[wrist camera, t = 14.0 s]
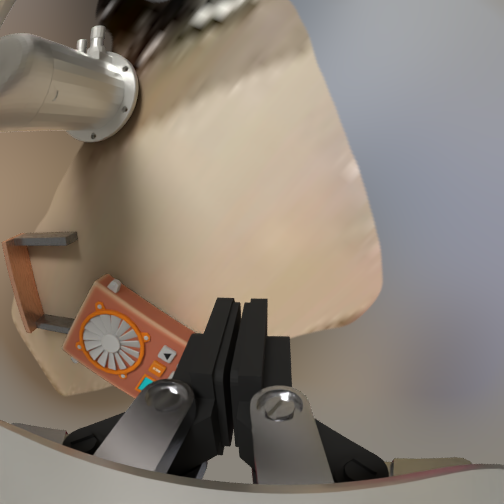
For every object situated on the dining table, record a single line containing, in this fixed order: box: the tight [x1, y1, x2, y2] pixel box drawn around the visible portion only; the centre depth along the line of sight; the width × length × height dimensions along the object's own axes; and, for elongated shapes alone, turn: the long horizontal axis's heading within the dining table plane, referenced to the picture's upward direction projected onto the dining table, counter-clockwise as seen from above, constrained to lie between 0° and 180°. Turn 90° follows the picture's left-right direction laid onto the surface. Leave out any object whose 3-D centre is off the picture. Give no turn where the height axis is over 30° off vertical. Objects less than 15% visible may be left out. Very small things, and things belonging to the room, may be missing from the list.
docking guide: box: [2, 232, 77, 334], centre depth 42 cm, size 16×13×5 cm
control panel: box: [62, 274, 195, 399], centre depth 41 cm, size 21×7×15 cm
